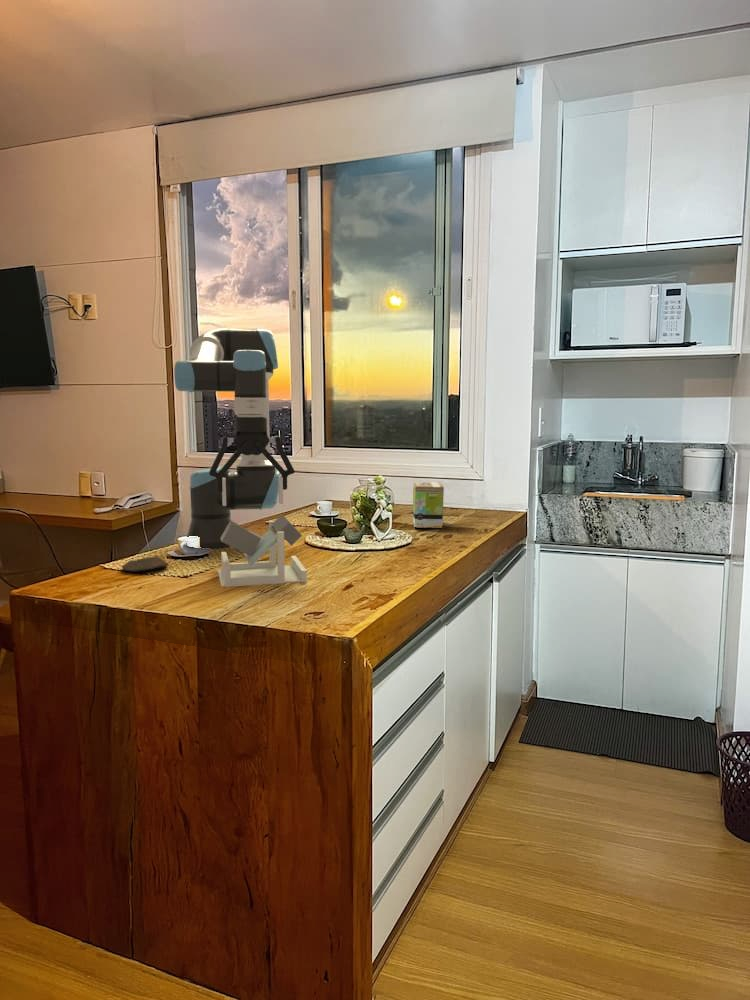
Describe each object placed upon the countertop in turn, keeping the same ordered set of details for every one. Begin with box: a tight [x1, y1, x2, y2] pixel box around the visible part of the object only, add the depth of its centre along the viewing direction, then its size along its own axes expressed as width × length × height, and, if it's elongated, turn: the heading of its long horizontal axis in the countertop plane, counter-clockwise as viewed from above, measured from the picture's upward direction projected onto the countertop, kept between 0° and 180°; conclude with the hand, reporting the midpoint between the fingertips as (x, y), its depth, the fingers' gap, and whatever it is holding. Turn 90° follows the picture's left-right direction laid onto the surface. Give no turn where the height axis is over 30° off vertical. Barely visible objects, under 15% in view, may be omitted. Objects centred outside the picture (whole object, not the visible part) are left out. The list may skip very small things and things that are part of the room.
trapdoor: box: [243, 514, 303, 566], centre depth 178 cm, size 13×14×4 cm
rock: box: [121, 555, 169, 572], centre depth 186 cm, size 11×12×3 cm
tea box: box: [412, 481, 445, 528], centre depth 251 cm, size 15×10×15 cm
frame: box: [217, 520, 308, 588], centre depth 178 cm, size 18×20×12 cm
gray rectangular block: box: [220, 520, 262, 556], centre depth 176 cm, size 5×5×8 cm
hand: (252, 504), depth 176 cm, fingers open, 13 cm apart
